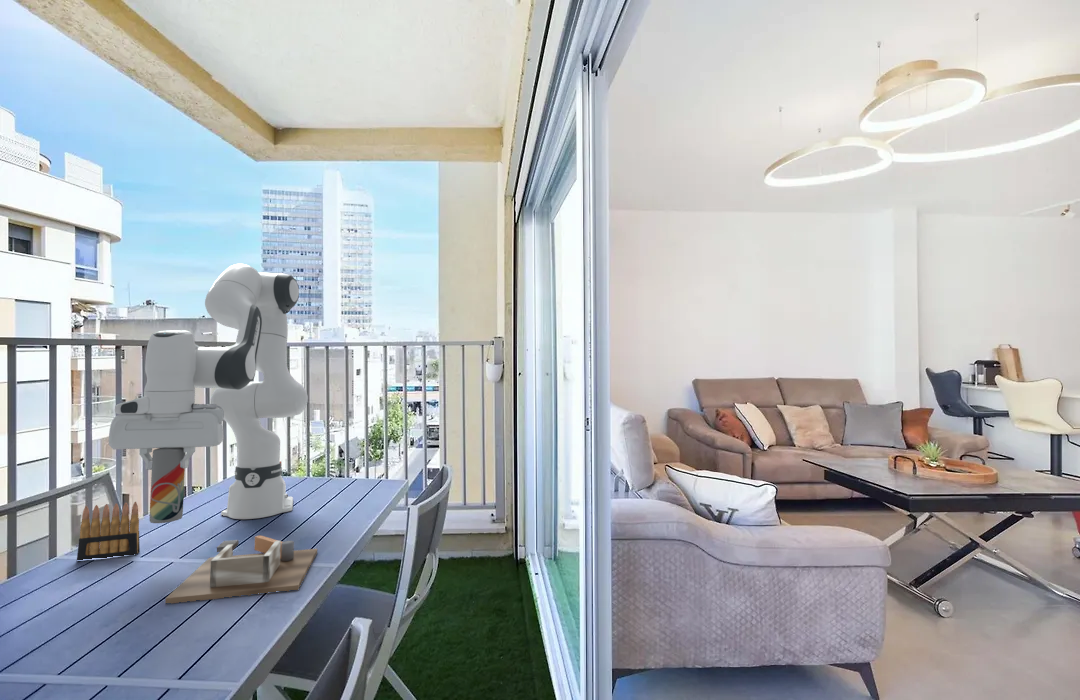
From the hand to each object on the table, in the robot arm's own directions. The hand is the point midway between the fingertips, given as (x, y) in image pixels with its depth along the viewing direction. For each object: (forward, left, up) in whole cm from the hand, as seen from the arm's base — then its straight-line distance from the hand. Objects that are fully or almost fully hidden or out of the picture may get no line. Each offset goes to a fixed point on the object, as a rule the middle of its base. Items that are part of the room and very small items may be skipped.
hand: (167, 468), depth 105 cm
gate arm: (+1, +21, -20) cm, 29 cm away
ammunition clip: (-11, -15, -21) cm, 28 cm away
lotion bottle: (0, 0, -11) cm, 11 cm away
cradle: (+8, +19, -21) cm, 30 cm away
